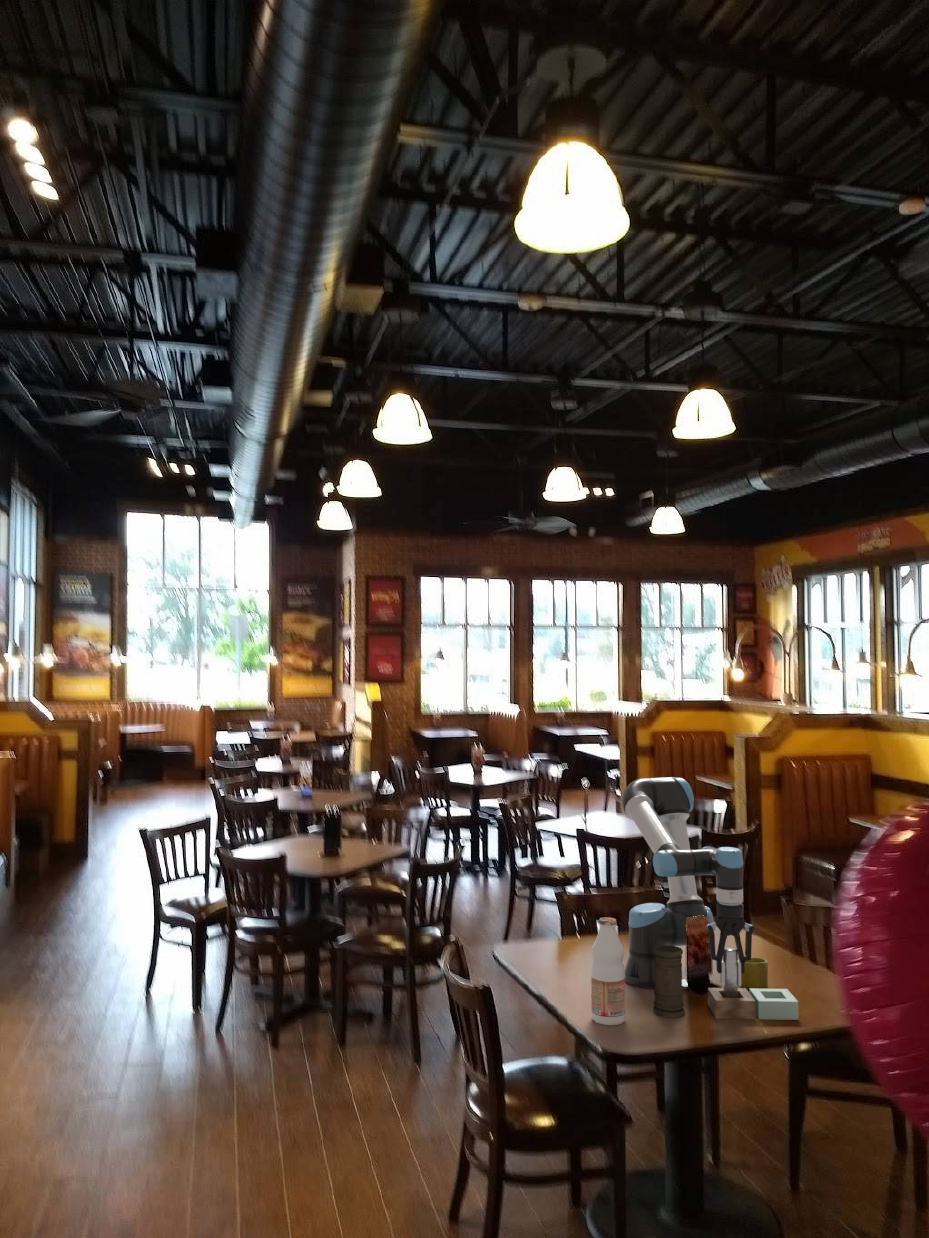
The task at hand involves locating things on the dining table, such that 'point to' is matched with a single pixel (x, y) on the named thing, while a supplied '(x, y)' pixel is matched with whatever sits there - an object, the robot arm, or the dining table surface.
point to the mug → (755, 974)
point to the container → (668, 981)
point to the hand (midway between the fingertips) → (730, 984)
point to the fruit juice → (608, 975)
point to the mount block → (731, 1004)
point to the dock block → (775, 1004)
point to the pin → (731, 972)
